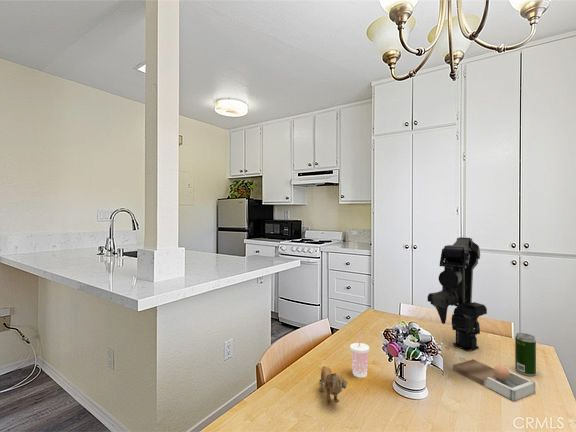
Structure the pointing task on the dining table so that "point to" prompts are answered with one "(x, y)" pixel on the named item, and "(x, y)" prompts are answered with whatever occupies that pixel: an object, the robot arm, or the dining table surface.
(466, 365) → the runway
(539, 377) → the dining table surface
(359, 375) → the beverage cup
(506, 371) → the ball
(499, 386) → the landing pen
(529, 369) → the beer can
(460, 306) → the robot arm
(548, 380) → the dining table surface
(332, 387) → the lion figurine
